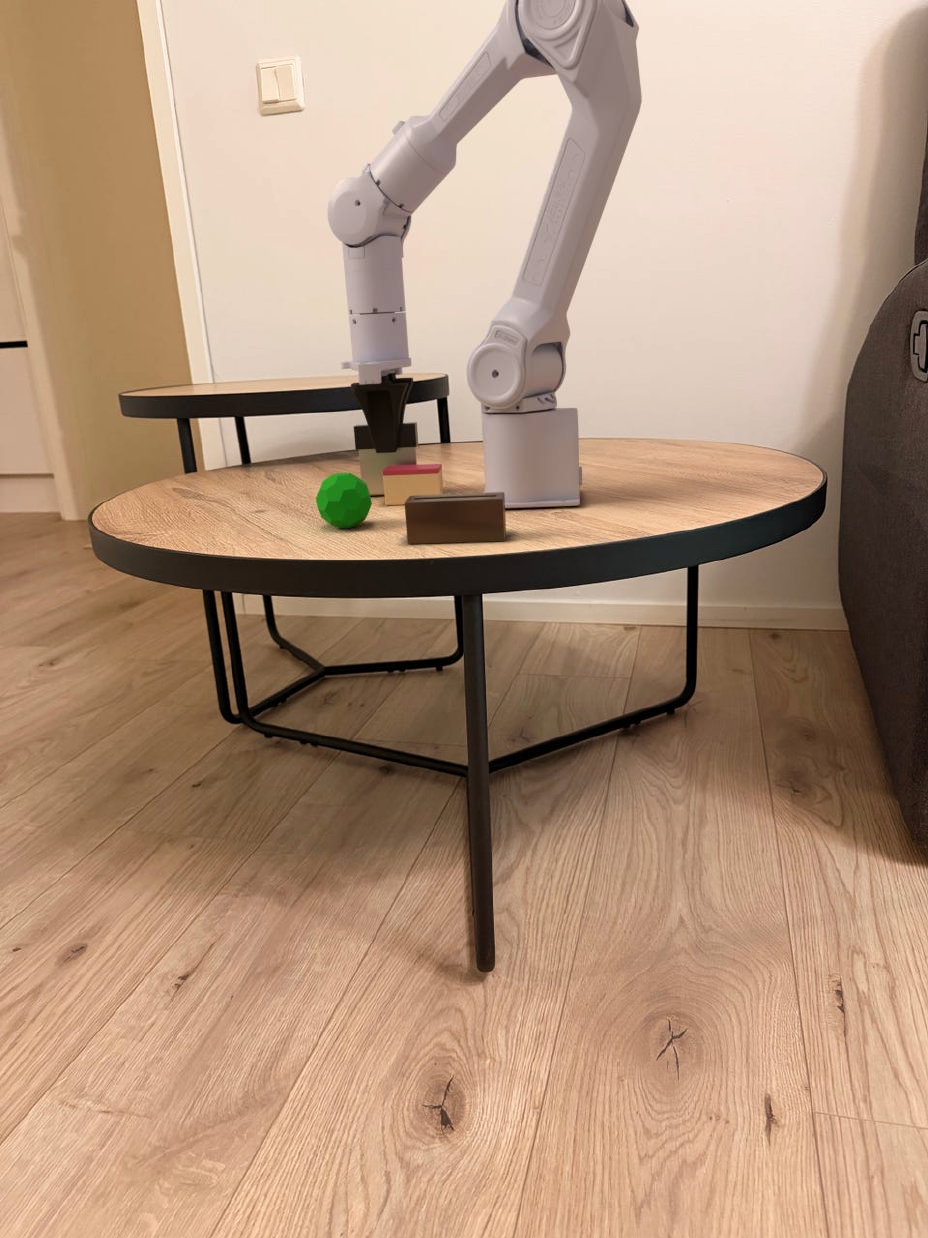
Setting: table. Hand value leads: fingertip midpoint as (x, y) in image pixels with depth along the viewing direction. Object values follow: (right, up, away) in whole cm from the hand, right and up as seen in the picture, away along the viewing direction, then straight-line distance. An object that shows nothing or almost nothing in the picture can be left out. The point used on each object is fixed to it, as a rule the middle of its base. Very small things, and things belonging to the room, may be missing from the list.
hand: (388, 450), depth 96 cm
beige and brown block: (0, -4, +1) cm, 4 cm away
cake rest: (+3, -6, -2) cm, 7 cm away
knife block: (+7, -11, -19) cm, 23 cm away
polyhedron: (-3, -9, -12) cm, 16 cm away
